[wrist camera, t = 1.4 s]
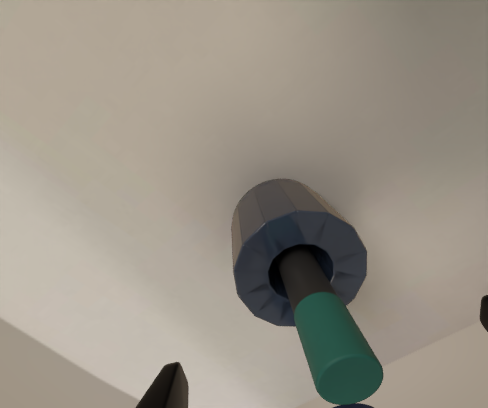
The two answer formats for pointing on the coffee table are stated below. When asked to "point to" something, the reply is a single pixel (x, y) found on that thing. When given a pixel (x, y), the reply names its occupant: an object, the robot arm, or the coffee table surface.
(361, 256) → the pen cup
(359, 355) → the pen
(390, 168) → the coffee table surface
